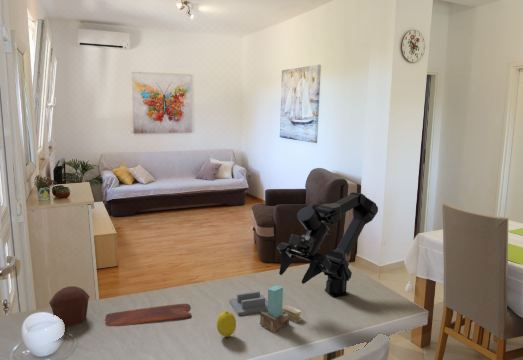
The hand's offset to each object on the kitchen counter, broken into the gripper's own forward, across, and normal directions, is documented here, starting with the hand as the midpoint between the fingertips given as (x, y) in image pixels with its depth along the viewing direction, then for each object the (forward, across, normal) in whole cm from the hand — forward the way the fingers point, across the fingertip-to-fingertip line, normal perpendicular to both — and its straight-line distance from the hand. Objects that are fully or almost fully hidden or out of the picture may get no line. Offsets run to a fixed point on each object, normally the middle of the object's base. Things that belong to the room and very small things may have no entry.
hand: (290, 278), depth 132 cm
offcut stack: (+9, 0, +10) cm, 13 cm away
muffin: (+45, -46, -26) cm, 70 cm away
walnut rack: (+14, 0, +4) cm, 15 cm away
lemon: (+25, -5, -6) cm, 27 cm away
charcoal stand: (+12, -14, +6) cm, 19 cm away
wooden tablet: (+32, -32, -13) cm, 47 cm away
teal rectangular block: (+14, 0, +4) cm, 15 cm away
